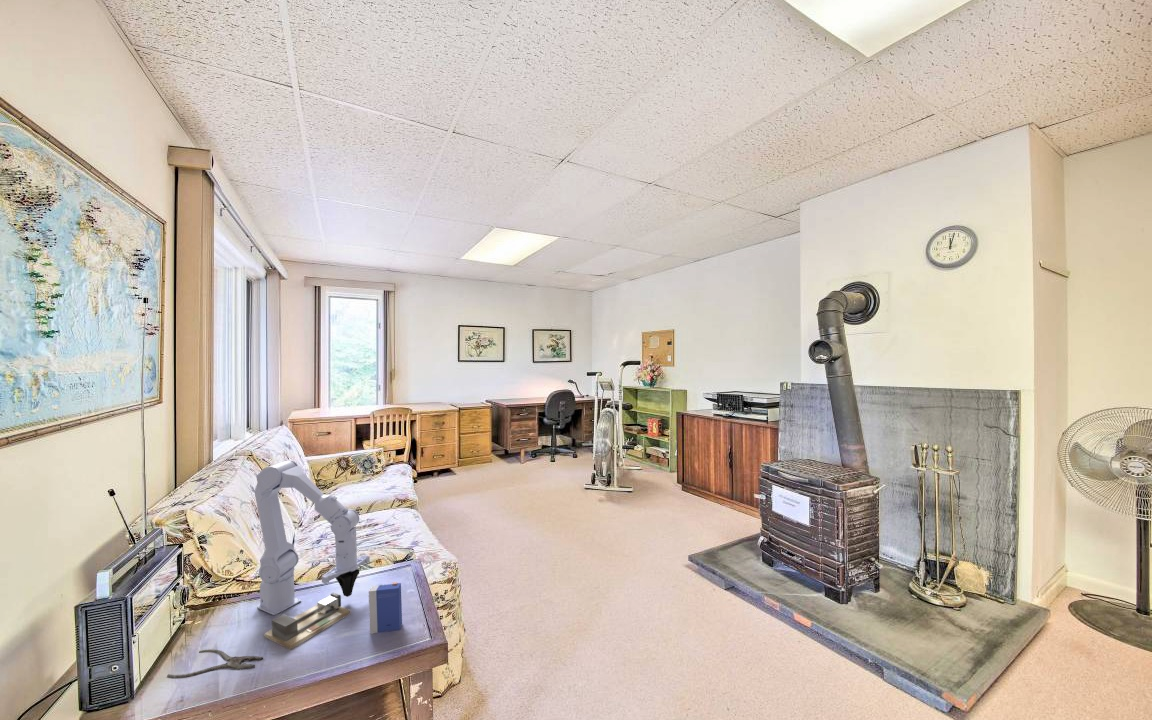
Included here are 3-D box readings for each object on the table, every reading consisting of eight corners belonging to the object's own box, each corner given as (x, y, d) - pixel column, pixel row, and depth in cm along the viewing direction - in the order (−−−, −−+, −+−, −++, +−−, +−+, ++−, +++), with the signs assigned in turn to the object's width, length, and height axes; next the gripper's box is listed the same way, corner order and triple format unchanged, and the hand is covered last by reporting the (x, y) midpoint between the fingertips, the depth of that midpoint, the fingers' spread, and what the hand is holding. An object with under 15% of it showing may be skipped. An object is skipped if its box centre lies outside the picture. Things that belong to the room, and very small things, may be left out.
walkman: (402, 623, 119) (400, 581, 119) (399, 630, 116) (398, 586, 116) (372, 627, 118) (371, 584, 118) (369, 633, 115) (368, 590, 115)
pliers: (192, 650, 110) (277, 639, 113) (192, 654, 110) (277, 643, 113) (163, 678, 100) (256, 665, 103) (163, 681, 100) (256, 668, 103)
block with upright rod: (333, 603, 128) (333, 592, 128) (347, 608, 125) (347, 597, 125) (317, 611, 124) (317, 600, 124) (331, 617, 121) (331, 606, 121)
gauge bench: (325, 603, 130) (325, 587, 130) (350, 613, 125) (350, 596, 125) (264, 636, 115) (264, 618, 115) (290, 649, 110) (289, 630, 110)
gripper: (331, 564, 122) (333, 611, 122) (375, 544, 135) (376, 586, 135) (316, 559, 125) (318, 605, 125) (360, 540, 138) (362, 581, 138)
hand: (347, 595), depth 130 cm, fingers closed
